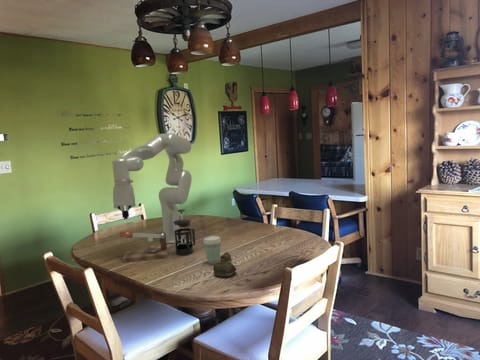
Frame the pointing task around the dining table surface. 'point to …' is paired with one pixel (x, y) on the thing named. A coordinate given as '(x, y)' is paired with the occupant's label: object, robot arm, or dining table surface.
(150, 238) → the lever
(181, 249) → the french press
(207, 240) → the coffee cup
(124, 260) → the base
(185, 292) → the dining table surface
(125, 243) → the dining table surface
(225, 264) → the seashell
